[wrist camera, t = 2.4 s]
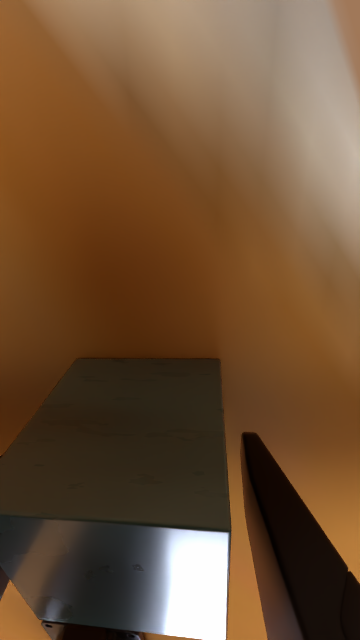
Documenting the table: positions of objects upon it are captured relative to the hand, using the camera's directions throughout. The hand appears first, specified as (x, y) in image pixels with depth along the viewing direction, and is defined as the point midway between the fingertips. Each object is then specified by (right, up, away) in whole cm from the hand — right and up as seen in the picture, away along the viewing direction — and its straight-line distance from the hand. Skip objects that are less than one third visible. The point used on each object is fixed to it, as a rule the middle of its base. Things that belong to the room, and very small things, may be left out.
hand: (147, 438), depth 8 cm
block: (0, 0, +1) cm, 1 cm away
